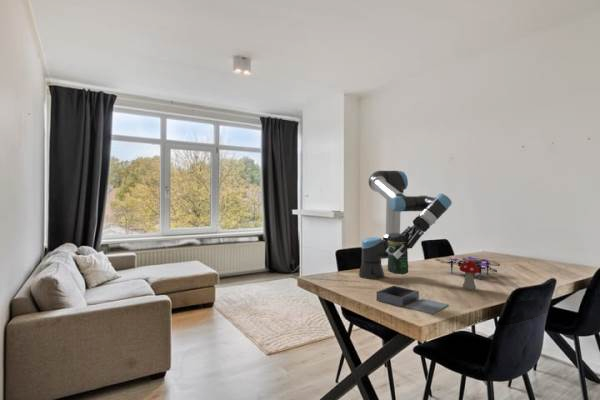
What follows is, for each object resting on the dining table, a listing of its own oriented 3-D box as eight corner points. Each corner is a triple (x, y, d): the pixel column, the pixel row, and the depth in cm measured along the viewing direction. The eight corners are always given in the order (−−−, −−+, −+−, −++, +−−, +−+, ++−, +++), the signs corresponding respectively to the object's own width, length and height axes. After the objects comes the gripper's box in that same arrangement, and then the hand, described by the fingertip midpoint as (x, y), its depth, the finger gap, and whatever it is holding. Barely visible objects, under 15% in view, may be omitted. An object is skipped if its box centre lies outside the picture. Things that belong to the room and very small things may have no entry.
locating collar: (376, 300, 155) (376, 291, 155) (393, 293, 166) (393, 285, 166) (402, 307, 145) (402, 298, 145) (418, 299, 156) (418, 291, 156)
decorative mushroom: (455, 287, 177) (455, 259, 177) (467, 285, 180) (467, 258, 180) (471, 292, 168) (471, 262, 168) (483, 290, 171) (483, 261, 171)
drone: (431, 256, 215) (458, 252, 229) (431, 271, 215) (458, 266, 229) (493, 267, 181) (520, 262, 195) (493, 285, 181) (520, 278, 195)
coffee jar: (411, 274, 152) (411, 234, 152) (396, 275, 150) (396, 235, 149) (398, 269, 161) (399, 231, 161) (384, 270, 159) (384, 232, 158)
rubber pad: (406, 307, 145) (406, 306, 145) (422, 299, 156) (422, 298, 156) (433, 314, 136) (433, 313, 136) (448, 305, 148) (448, 304, 148)
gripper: (441, 229, 145) (406, 265, 144) (419, 224, 167) (388, 255, 166) (429, 217, 145) (394, 253, 144) (409, 214, 167) (378, 245, 166)
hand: (391, 254), depth 155 cm, fingers closed on coffee jar, 9 cm apart
